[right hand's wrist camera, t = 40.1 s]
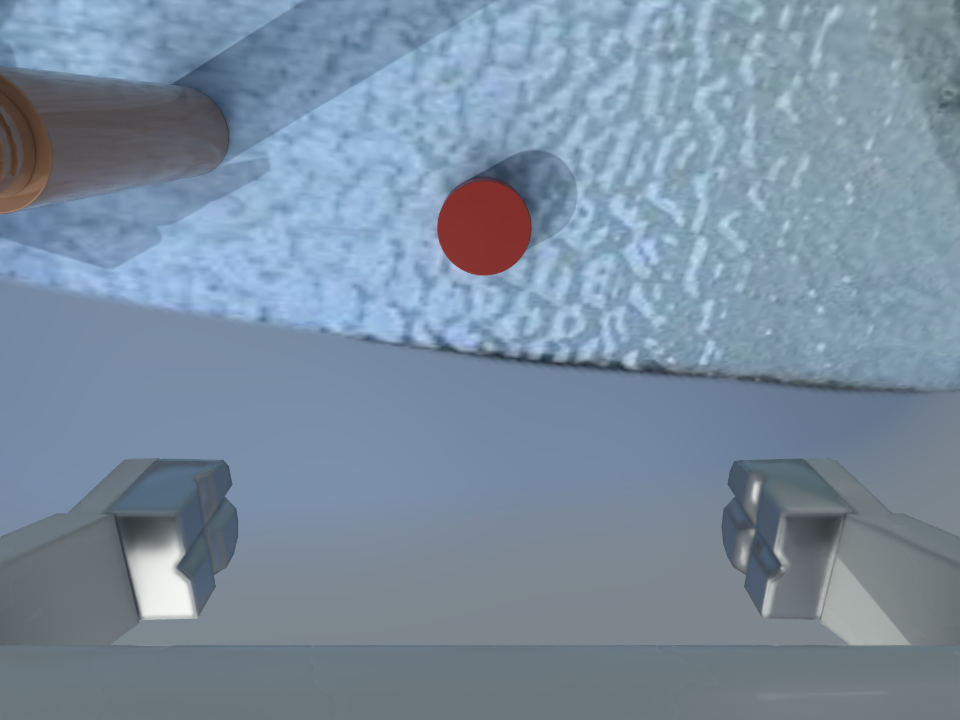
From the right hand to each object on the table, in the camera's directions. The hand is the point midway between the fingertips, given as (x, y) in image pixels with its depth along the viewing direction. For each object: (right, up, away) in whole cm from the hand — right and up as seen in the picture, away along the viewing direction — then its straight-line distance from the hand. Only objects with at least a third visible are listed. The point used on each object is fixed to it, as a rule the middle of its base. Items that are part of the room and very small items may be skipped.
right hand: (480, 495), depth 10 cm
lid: (0, +10, +25) cm, 27 cm away
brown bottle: (-17, +15, +25) cm, 34 cm away
